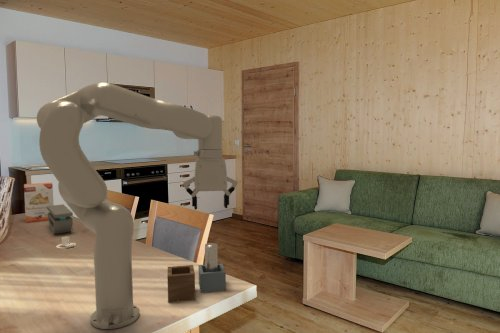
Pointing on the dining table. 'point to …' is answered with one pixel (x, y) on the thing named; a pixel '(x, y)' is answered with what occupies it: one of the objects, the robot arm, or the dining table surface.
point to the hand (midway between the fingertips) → (210, 208)
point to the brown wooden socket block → (181, 283)
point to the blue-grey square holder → (212, 279)
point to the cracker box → (37, 201)
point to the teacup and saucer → (66, 243)
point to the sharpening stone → (59, 219)
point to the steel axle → (211, 257)
